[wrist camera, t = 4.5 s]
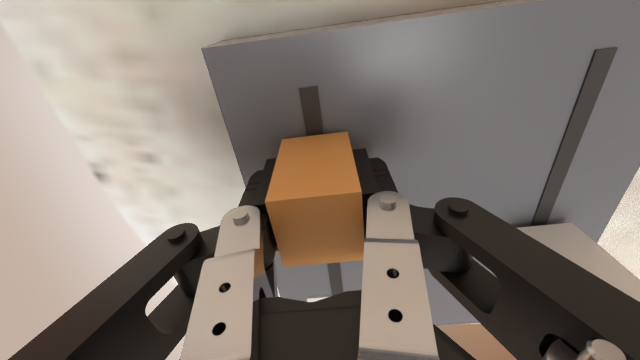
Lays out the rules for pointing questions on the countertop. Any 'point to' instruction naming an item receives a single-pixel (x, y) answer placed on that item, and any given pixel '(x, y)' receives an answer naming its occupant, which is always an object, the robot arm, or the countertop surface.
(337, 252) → the block
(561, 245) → the white fader
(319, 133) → the mixer console
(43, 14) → the countertop surface
